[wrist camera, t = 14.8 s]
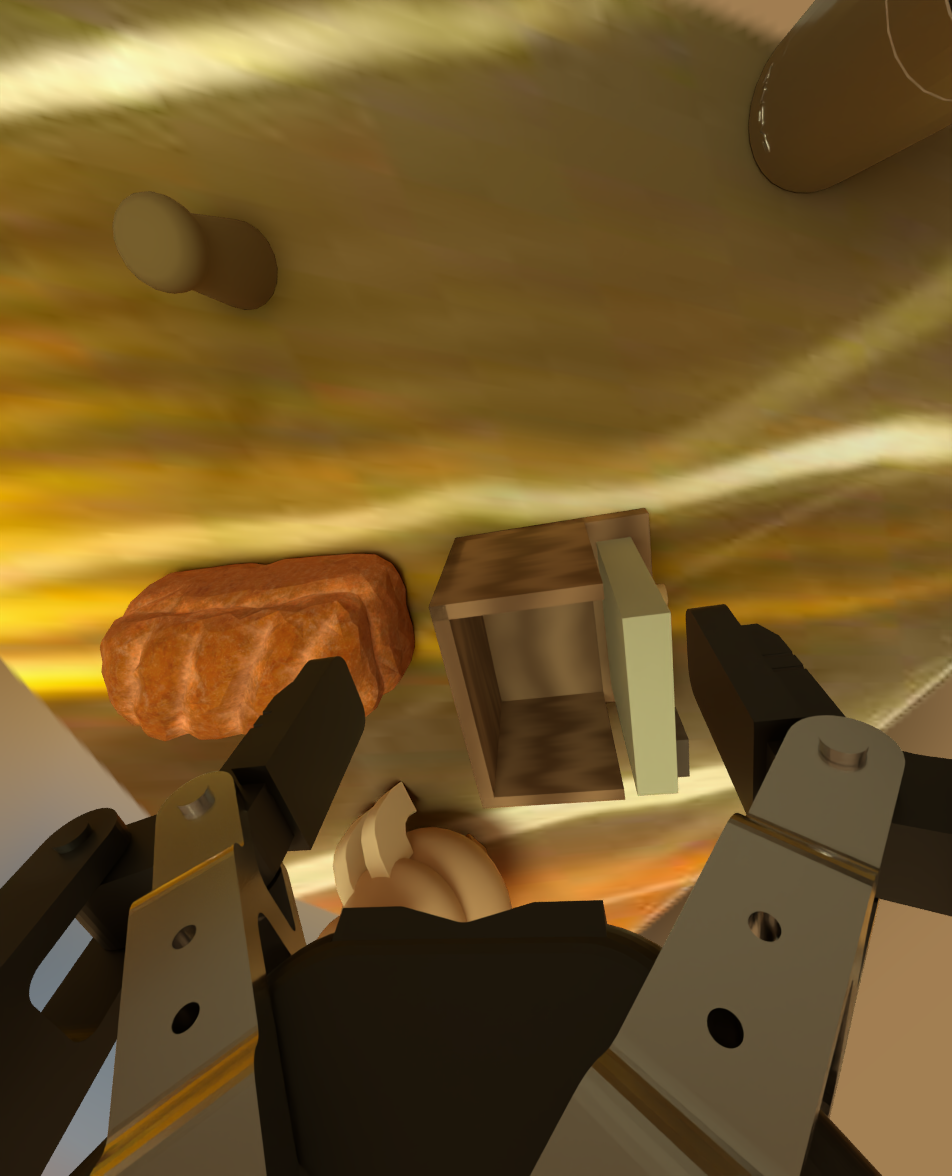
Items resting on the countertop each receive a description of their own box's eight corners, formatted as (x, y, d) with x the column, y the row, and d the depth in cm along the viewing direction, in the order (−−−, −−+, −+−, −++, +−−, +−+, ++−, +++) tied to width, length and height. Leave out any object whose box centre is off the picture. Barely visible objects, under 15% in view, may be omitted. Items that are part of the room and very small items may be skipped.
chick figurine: (464, 1222, 33) (281, 1258, 42) (608, 984, 56) (471, 1039, 65) (311, 792, 45) (194, 889, 54) (480, 743, 69) (380, 816, 77)
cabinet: (645, 507, 44) (690, 571, 32) (655, 688, 53) (694, 795, 40) (455, 538, 47) (428, 607, 35) (493, 704, 56) (483, 808, 43)
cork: (258, 208, 37) (161, 159, 28) (289, 298, 40) (210, 282, 30) (189, 232, 39) (72, 194, 29) (223, 319, 41) (127, 310, 31)
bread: (423, 661, 54) (387, 768, 40) (204, 674, 58) (102, 777, 44) (397, 541, 48) (344, 620, 35) (155, 566, 52) (20, 645, 38)
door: (644, 534, 44) (690, 610, 31) (653, 681, 51) (694, 792, 38) (596, 541, 45) (622, 618, 32) (611, 685, 51) (637, 795, 39)
